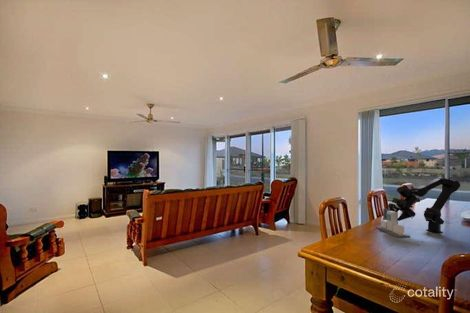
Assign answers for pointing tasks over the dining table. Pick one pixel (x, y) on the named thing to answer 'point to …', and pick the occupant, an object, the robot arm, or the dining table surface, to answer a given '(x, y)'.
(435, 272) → the dining table surface
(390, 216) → the block
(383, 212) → the small box
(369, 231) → the dining table surface
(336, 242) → the dining table surface
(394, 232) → the mounting plate
